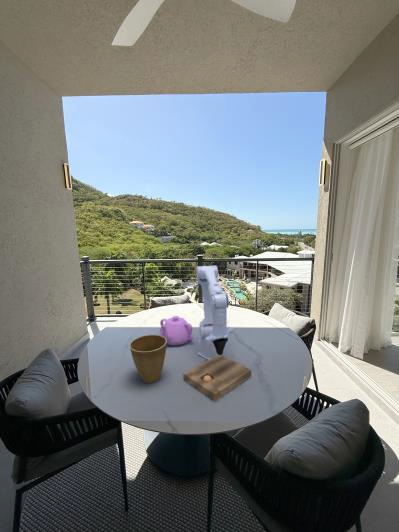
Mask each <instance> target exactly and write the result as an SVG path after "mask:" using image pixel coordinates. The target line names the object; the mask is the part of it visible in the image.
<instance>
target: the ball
mask: <svg viewBox="0 0 399 532" xmlns="http://www.w3.org/2000/svg"><path fill="white" fill-rule="evenodd" d="M203 380H204V381H205V382H207V383H208V382H209V381H211V380H212V378H211V377H210V376H209V375H206V376H205V377H204V378H203Z"/></svg>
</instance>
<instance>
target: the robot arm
mask: <svg viewBox="0 0 399 532" xmlns="http://www.w3.org/2000/svg"><path fill="white" fill-rule="evenodd" d="M195 272H196V282H197V284H198V285H200V287H201V290H202V303H203V313H204V314H203V315H204V317H203V319H202V320H201V321H200V322H199V330H198V332H199V339H198V341H197V342H198V351H197V355H198V356H200V357H202V358H204V359H205V360H206V361H208V360H210V359H212V358H214V357H215V356H217V355H222V356H223V354H224V349H225V347H226V344H227V342H228V341H229V338H228V337H229V335H230V334H233V333H234V328H232V327H227V326H228V325H227V324H228V323H227V322H228V321H227V320H228V319H227V317H228V315H227V313H228V310H227V309H228V308H229V306H230V305H229V303H230V301H229V300H230V299H229V296H228V294H227V293H226V292H224V290H223V288H222V285H221V283H219V282H218V280H217V278H218V275H219V270H218V266H217V265H216V264H215V265H204V266H203V265H202V266H199V265H198V266H197V267H196V271H195ZM205 324H213V325H205Z"/></svg>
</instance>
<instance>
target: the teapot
mask: <svg viewBox="0 0 399 532" xmlns="http://www.w3.org/2000/svg"><path fill="white" fill-rule="evenodd" d="M159 323H160V329H159V333H160V336H163V337H165V338H166V340H167V344H166V345H169V346H183V345H184V344H187V343H188V342H189V341H194V335H193V326H192V325H191V323H188V322H187V320H186V319H185V318H183V317H180V316H178V315H173V316H172V317H169V318H162V319H161V320H160V322H159Z"/></svg>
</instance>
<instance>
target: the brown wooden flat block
mask: <svg viewBox="0 0 399 532" xmlns="http://www.w3.org/2000/svg"><path fill="white" fill-rule="evenodd" d="M182 375H183V376H182V378H183V379H182V380H183V381H184V382H185V383H187V384H189V385H190V386H191V387H193V388H194V389H196V390H197V391H199V392H200V393H202V394H203V395H205V396H206V397H207V398H209V399H210V400H212V401H213V402H217V401H218V400H219V399H221V398H222V397H224V396H226V395H227V394H228V393H230V392H232V390H234V389H236V388H237V387H239V386H240V385H241V384H243V383H244V382H246V381H247V380H249V379H250V378H251V377H252V369H250V368H248V367H246V366H244V365H242V364H240V363H238V362H235V361H234V360H232V359H229V358H228V357H226V356H223V354H222V355H217V356H215V357H214V358H212V359H210V360H206V361H205V362H202V363H201V364H199V365H197V366H195V367H193V368H191V369H188V370H187V371H185V372H184V373H183V374H182ZM206 375H209V376H210V377H211V378H212V380H211V381H209V382H208V383H207V382H205V381H204V380H203V378H204V377H205V376H206Z"/></svg>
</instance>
